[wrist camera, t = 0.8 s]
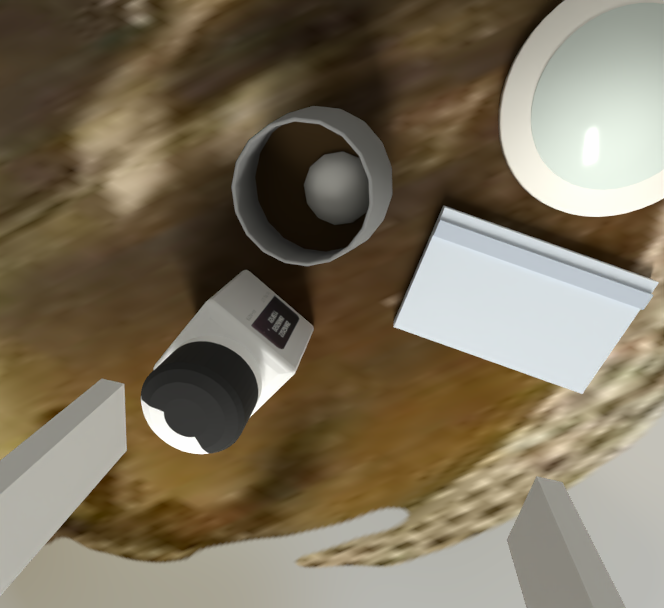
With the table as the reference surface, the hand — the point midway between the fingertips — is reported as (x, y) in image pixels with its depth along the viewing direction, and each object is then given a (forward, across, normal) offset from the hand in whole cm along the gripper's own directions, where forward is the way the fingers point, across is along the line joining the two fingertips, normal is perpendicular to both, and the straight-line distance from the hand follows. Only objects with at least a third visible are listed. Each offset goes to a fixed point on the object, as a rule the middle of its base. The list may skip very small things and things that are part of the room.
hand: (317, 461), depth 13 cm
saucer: (+21, +14, +14) cm, 29 cm away
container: (+22, -8, -7) cm, 24 cm away
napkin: (+21, +12, 0) cm, 24 cm away
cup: (+22, -4, +6) cm, 23 cm away
